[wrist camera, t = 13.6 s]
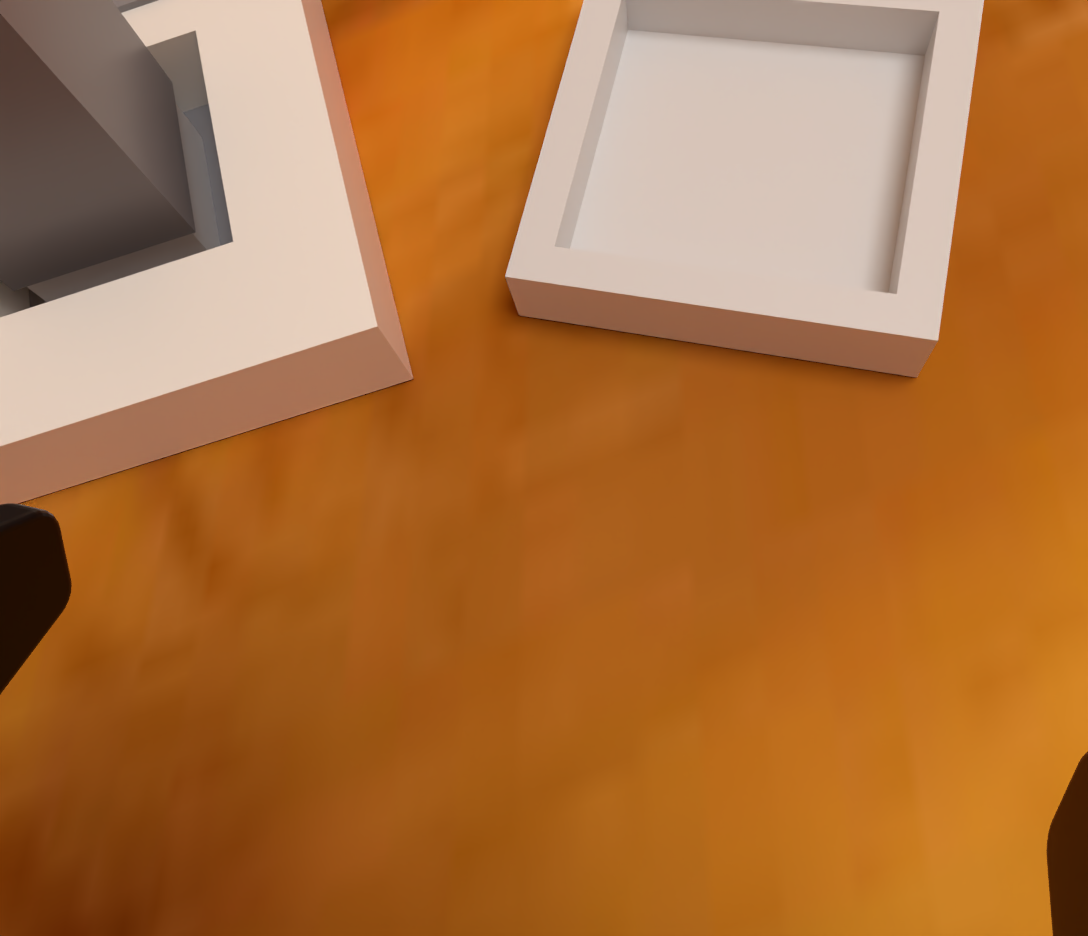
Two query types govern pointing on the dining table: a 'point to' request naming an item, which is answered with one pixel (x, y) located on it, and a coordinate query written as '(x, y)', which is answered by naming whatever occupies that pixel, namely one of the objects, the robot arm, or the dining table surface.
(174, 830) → the dining table surface
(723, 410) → the dining table surface
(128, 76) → the plug
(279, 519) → the dining table surface
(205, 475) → the dining table surface
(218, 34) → the power strip
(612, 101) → the tray
